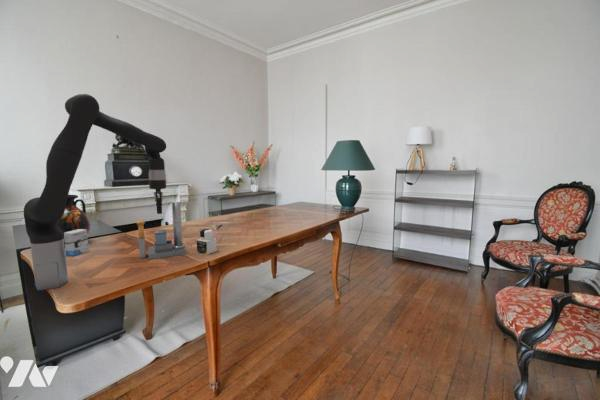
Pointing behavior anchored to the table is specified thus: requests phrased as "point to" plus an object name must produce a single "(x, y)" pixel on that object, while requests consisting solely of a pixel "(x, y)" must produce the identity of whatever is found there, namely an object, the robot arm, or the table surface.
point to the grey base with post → (168, 248)
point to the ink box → (76, 242)
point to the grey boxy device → (206, 242)
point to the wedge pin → (141, 228)
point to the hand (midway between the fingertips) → (159, 212)
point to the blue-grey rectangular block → (160, 237)
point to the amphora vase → (74, 216)
